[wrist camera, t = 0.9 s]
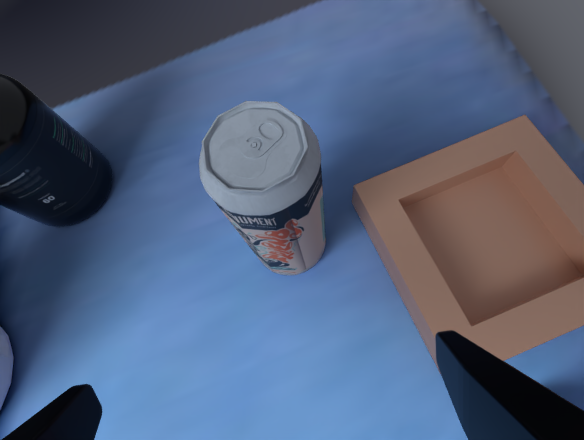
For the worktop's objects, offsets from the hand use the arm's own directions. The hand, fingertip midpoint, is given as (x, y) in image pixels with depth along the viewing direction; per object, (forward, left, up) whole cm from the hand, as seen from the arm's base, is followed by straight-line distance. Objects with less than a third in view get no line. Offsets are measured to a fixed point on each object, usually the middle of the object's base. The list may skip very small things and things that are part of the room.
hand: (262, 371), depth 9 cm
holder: (+2, -13, -13) cm, 19 cm away
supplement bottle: (+18, +12, -13) cm, 25 cm away
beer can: (+7, -2, -13) cm, 15 cm away
